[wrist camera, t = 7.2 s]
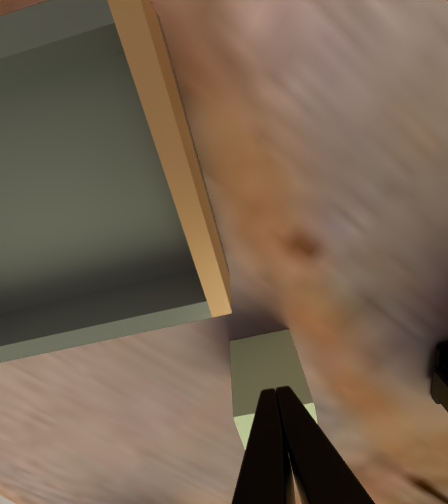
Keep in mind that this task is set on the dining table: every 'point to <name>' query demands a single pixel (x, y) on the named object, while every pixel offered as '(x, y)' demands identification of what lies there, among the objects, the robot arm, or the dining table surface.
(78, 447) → the dining table surface
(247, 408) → the sage block
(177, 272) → the low planter box
